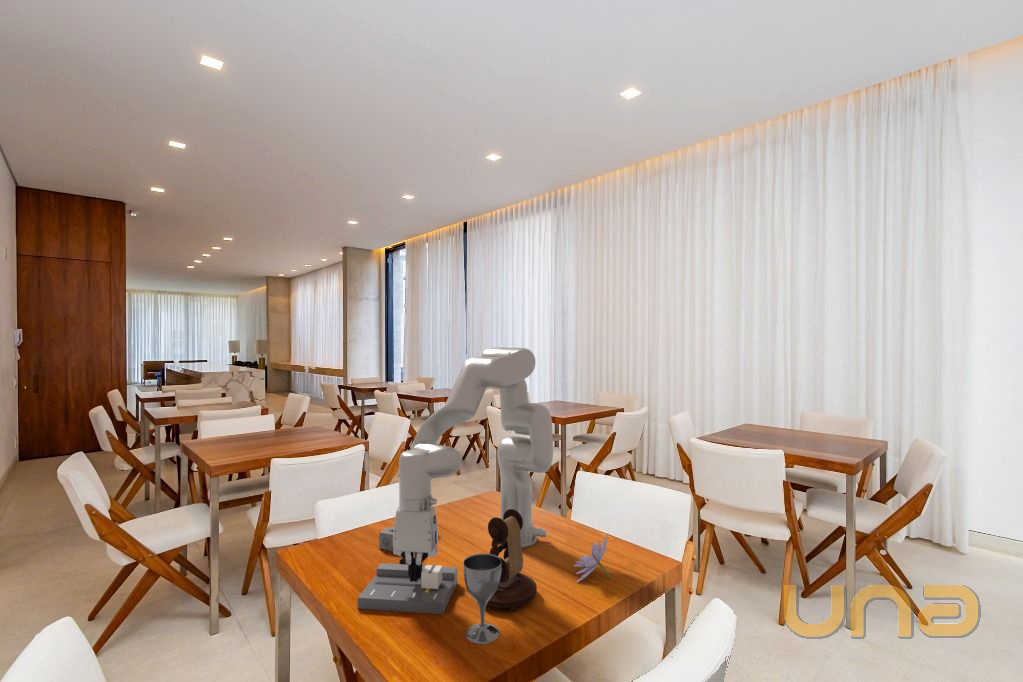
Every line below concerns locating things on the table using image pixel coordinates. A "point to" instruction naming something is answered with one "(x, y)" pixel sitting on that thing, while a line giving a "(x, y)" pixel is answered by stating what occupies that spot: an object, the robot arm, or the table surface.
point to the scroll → (510, 562)
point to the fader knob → (431, 577)
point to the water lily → (592, 560)
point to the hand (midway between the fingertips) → (415, 579)
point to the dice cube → (386, 539)
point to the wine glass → (482, 592)
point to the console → (406, 591)
